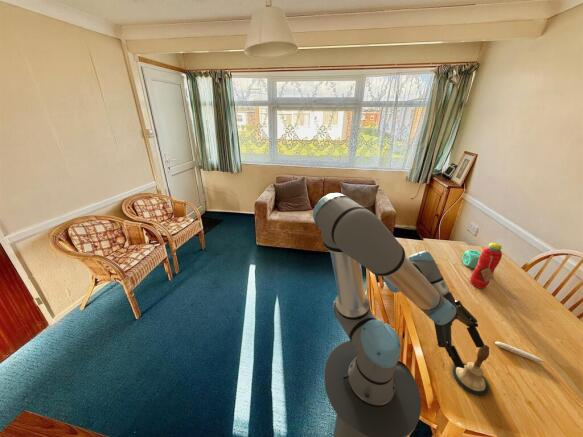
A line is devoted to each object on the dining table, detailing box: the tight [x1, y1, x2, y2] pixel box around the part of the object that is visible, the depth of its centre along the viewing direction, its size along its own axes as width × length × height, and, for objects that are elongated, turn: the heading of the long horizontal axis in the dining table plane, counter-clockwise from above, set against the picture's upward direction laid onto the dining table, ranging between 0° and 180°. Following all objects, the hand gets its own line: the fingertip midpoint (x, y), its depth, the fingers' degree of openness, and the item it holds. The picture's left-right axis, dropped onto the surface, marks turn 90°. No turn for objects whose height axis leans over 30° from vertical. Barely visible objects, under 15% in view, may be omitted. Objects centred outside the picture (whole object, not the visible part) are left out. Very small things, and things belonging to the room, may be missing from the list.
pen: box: [494, 341, 546, 363], centre depth 86 cm, size 2×14×2 cm, turn 55°
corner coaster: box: [452, 363, 490, 397], centre depth 78 cm, size 10×10×1 cm
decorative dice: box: [461, 249, 482, 270], centre depth 133 cm, size 8×8×8 cm
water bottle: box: [469, 242, 503, 289], centre depth 113 cm, size 12×8×25 cm, turn 142°
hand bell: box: [456, 344, 490, 391], centre depth 74 cm, size 8×8×16 cm
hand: (471, 356), depth 76 cm, fingers open, 13 cm apart
